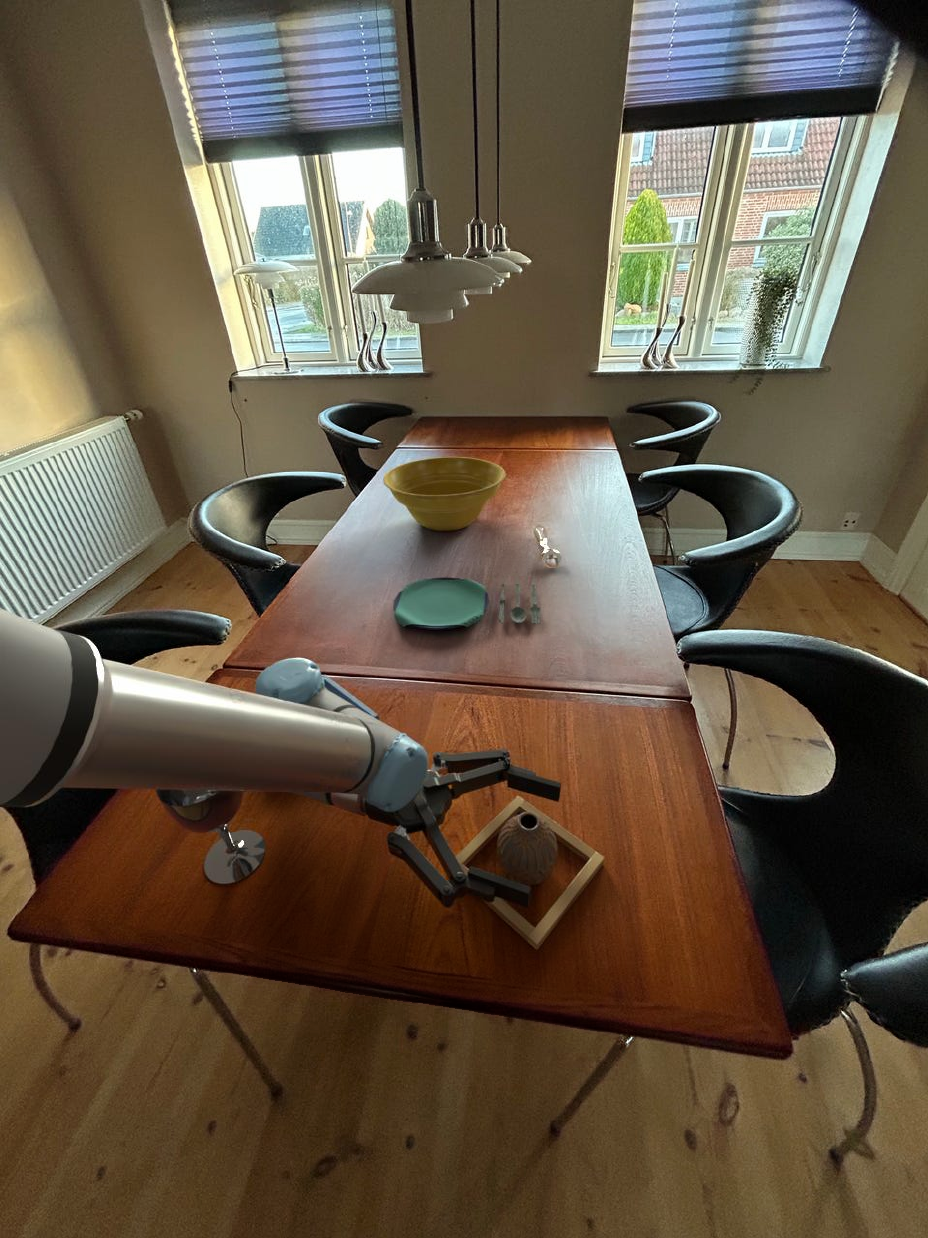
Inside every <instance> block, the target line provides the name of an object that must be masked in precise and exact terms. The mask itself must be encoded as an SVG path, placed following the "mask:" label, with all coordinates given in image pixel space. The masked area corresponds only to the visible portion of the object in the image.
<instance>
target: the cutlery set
mask: <svg viewBox="0 0 928 1238" xmlns="http://www.w3.org/2000/svg"><path fill="white" fill-rule="evenodd" d="M520 585H521V583H519V582H518V583H517V582H516V583H515V594H516V606H514V607H513V608H512V609H510V613H509V616H510V618H511V620H512V621H513V622H515V623H523V622H524V621H525V620H526V618H527V615H528V613H527V611H526V610H525V608H524V607H522V606H520ZM500 586H501V595H500V598H499V605H500V606H499V614H498V615H499V616H498V617H499V619H498V620H499V622H500V623H501V624H504V621H505V620H504V618H505V617H504V615H505V610H504V609H505V606H506V597H505V587H506V584H501V585H500ZM486 589H487V588H486V586H484V585H483V584H481V583H479V582H477V581H475V580H473V579H471V578H460V577H452V576H451V577H449V576H442V577H441V576H440V577H431V578H421V579H418V580H415V581H413V582H412V583H409V584H406V585H405V586H403V587H402V589H401V590H400V591H399V592H398V593H397V594H396V596H395V598H394V600H393V611H394V619H395V622H396V623H397V624H398V625H400V626H401V627H403V628H405V627H406V626H413V627H416V628H419V629H424V630H433V631H438V630H451V629H456V628H460V627H463V626H464V627H466V628H469V627H470V626H472V625H474V624H476V623H477V622H480V621H482V620H483V617H484V614H486V612H487V611H488V608H489V606H490V601H491V600H490V596H489V593H488V592H487V590H486ZM536 594H537V593H536V583H534V582H533V583H531V595H532V606H531V607H529V612H530V619H531V620H530V621H531V624H532V625H534V624H535V625H537V624H538V625H539V624H540V622H541V608H540V607H538V604H537V596H536Z"/></svg>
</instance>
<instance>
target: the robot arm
mask: <svg viewBox="0 0 928 1238" xmlns="http://www.w3.org/2000/svg"><path fill="white" fill-rule="evenodd" d="M322 676H323V674H322V672H321V669H320V667H319V666H318V665H317V664H316V662H314V661H312V660H310V659H307V658H304V657H289V658H285V659H281V660H278V661H276V662H274V663H273V664H272V665H270V666H268V667H266V668H265V669H263V670H262V671H261V672H260V674H258V676H257V678H256V680H255V683H254V692H250V691H245V690H242V689H241V690H240V689H237V688H232V687H227V686H223V685H218V684H214V683H210V682H205V681H202V680H197V679H193V678H188V677H184V676H179V675H176V674H175V675H174V674H170V673H166V672H161V671H157V670H153V669H149V668H145V667H140V666H135V665H132V664H126V663H122V662H118V661H114V660H109V659H105V658H102V656H101V654H100V652H99V650H98V648H97V646H96V645H95V644H94V643H93V642H92V641H91V640H90V639H88V638H87V637H85V636H83V635H80V634H77V633H76V634H75V633H71V632H68V631H63V630H60V629H55V628H52V627H49V626H46V625H43V624H39V623H37V622H34V621H32V620H29V619H26V618H24V617H21V616H19V615H16V613H15V614H14V613H12V612H10V611H8V610H6V609H5V608H2V607H0V808H29V807H34V806H36V805H39V804H41V803H43V802H45V801H46V800H48V799H49V798H51V797H53V795H55V794H56V793H57V792H59V791H60V790H61V789H62V788H63V789H64V788H66V789H67V788H68V789H115V790H116V789H117V790H120V789H121V790H122V789H123V790H156V789H165V790H217V791H243V792H273V793H274V792H275V793H277V792H278V793H280V792H281V793H290V794H295V795H298V796H302V797H304V798H307V799H310V800H312V801H313V800H314V801H317V802H319V803H324V804H326V805H329V806H333V807H336V808H339V809H341V810H344V811H347V812H350V813H353V814H356V815H359V816H362V817H366V816H367V817H368V818H369V820H372V821H375V822H378V823H381V824H383V825H387V826H390V827H396V829H395V831H390V832H388V833H387V834H386V843H387V848H388V853H389V854H390V855H392V856H394V857H396V858H397V859H400V860H401V861H403V862H404V863H405V864H406V865H407V866H408V868H409V869H410V870H412V872H413V873H414V874H415V875H416V877H417V878H418V879H419V880H420V881H421V882H422V883H423V884H424V886H425V887H427V889H428V890H429V891H430V893H431V894H432V895H433V896H434V897H435V898H436V899H437V900H438V902H439V903H440V904H441V905H442V906H443V907H444V908H446V909H450V908H452V907H453V906H454V904H455V901H456V900H457V899H462V898H464V897H465V896H466V895H468V896H471V897H473V898H476V899H478V900H481V901H482V900H484V901H486V902H494V899H495V896H496V897H498V898H501V899H503V900H504V901H505V902H509V903H512V904H515V905H518V906H520V907H523V908H526V909H529V906H530V903H531V892H532V891H531V890H532V887H531V886H530V885H523V884H521V883H518V882H515V881H513V880H511V879H510V878H506V877H504V876H501V875H498V874H495V873H492V872H489V871H486V870H483V869H481V868H478V867H475V866H472V865H469V868H468V869H469V870H468V875H466V874H465V873H464V871H463V869H462V867H461V866H460V864H459V862H458V860H457V859H456V855H455V853H454V851H453V849H452V848H451V846H450V844H449V843H448V841H447V839H446V838H445V836H444V834H443V832H442V831H441V829H440V827H439V826H440V825H443V824H444V822H445V820H446V814H447V813H448V812H449V811H450V809H451V807H452V805H453V800H457V799H459V798H460V797H461V796H462V795H465V794H468V793H471V792H474V791H477V790H481V789H484V788H488V787H490V786H495V785H498V784H500V783H504V782H506V783H507V784H506V785H507V786H506V788H509V789H512V790H516V791H519V792H523V793H525V794H529V795H532V796H536V797H540V798H542V799H547V800H550V801H553V802H556V803H559V801H560V798H561V789H562V782H560V781H556V780H553V779H550V778H545V777H542V776H538V775H537V773H536V772H535V771H534V770H532V769H527V768H524V767H521V766H518V765H514V764H512V763H511V756H510V755H511V753H510V750H509V749H507V748H503V749H492V750H491V749H490V750H480V751H470V752H459V753H457V752H456V753H449V752H442V751H435V752H433V753H432V763H431V766H430V769H429V768H428V767H429V756H428V753H427V751H426V750H425V747H423V746H422V744H420V743H418V742H417V741H415V740H414V739H412V738H411V737H409V736H408V734H407V733H405V732H401V731H399V730H397V729H396V728H393V727H392V726H390V725H389V724H387V723H384V722H383V721H381V720H380V719H379V720H377V719H376V718H374V717H372V716H370V715H369V714H367V713H365V712H363V711H362V710H360V709H359V708H357V707H356V706H354V705H352V704H351V703H349V702H347V701H346V700H344V699H342V698H340V697H339V696H337V695H335V694H333V693H332V692H330V691H328V690H327V689H326V688H325V685H324V684H325V682H324V678H323V677H322ZM450 787H451V788H450ZM420 832H422V834H423V835H424V838H425V839H426V841H427V843H428V845H429V846H430V847H431V849H432V851H433V852H434V854H435V856H436V858H437V859H438V862H439V863H440V865H441V867H442V869H443V871H444V873H445V874H446V877H447V878H448V880H447V879H446V878H445V876H443V875H442V873H440V871H439V870H438V869H437V868H436V867H435V866H434V865H433V864H432V863H431V861H429V859H428V858H427V857H426V855H424V853H422V851H420V850H419V848H418V847H417V846H416V845H415V844H414V843H413V842H412V841H411V839H410V834H415V833H420Z"/></svg>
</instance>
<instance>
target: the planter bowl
mask: <svg viewBox="0 0 928 1238" xmlns="http://www.w3.org/2000/svg"><path fill="white" fill-rule="evenodd" d="M505 478H506V470H505V469H504V468H503V467H502V466H500V465H499V464H496V463H495V462H491V461H489V460H486V459H485V460H484V459H480V458H475V457H464V456H440V457H430V458H424V459H423V458H422V459H417V460H413V461H409V462H406V463H403V464H399V465H398V466H395V467H393V468H391V469H390V470H388V471H387V472H386V473H385V474H384V475H383V478H382V482H383V485H385V487H387V489H389V490H390V492H391V494H392V496H393V497H394V499H395V500H396V501H397V502H398V503H400V504H402V505H403V506H405V507H406V509H407V511H408V512H409V513H410V515H411V516H412V517H413V519H414V520H415V522H416V523H418V524H419V525H421V526H423V527H424V528H426V529H428V530H433V531H439V532H449V531H450V532H451V531H456V530H461V529H464V528H466V527H468V526H469V525H471V524H473V523H474V522H476V520H477V519H478V518H479V516H480V515H481V513H482V512H483V510H484V508H485V505H486V504H487V502H488V501H489V500H491V499H492V498H493V497H495V495H496V494H497V492H498V489H499V488H500V485H501V483H502V482H503V481H504V480H505Z"/></svg>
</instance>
